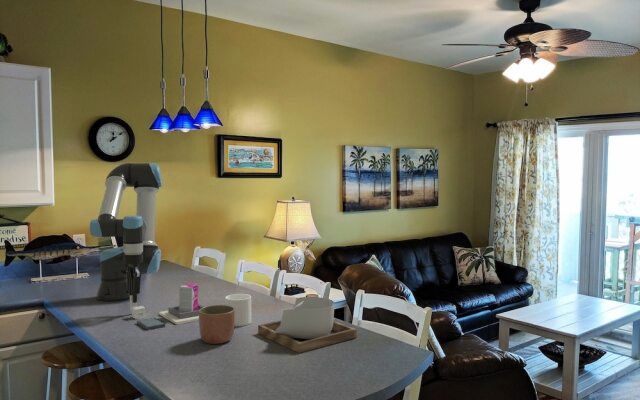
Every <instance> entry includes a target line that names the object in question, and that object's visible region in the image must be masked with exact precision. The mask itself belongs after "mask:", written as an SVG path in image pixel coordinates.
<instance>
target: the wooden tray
mask: <svg viewBox="0 0 640 400" xmlns="http://www.w3.org/2000/svg"><path fill="white" fill-rule="evenodd" d="M280 324H281V320H277V321H272V322H271V321H270V322H267V323H262V324H258V325H257V331H258V332H257V334H259V335H260V336H263V337H265V338H267V339H269V340H271V341H273V342H275V343H278V344H280V345H281V346H283V347H286V348H288V349H289V350H292V351H295V352H297V353H299V354H300V353H305V352H308V351H312V350H315V349H318V348H322V347H327V346H331V345H334V344H337V343H341V342H344V341H345V342H346V341H350V340H351V339H355V338H357V334H358V332H357V331H358V330H357V328H355V327H352V326H350V325H349V326H348V324H347V325H346V324H343V323H341V322H338V321H335V320H334V322H333V328H332V330H331V331H335V332H334V333H329V334H328V335H326V336H322V337H318V338H314V339H305V340H304V341H299V340H296V339H295V338H292V337H287V336H285V335H283V334H279V333H275V330H276V329H277V328H278V327H279V326H280Z"/></svg>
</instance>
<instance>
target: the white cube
mask: <svg viewBox="0 0 640 400" xmlns="http://www.w3.org/2000/svg"><path fill="white" fill-rule="evenodd" d="M146 311H147V309H146V307H144V306H143V305H138V307H133V308H132V311H131V318H133V319H134V318H135V319H134V320H140V319H144V318H145V317H146V314H147V313H146ZM145 319H146V318H145Z"/></svg>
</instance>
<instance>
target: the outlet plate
mask: <svg viewBox="0 0 640 400" xmlns="http://www.w3.org/2000/svg"><path fill="white" fill-rule="evenodd" d="M203 307H205V306H204V305H202V304H200V303H198V310H196V311H191V312H185V313H181V312H179V305H175V306H171V307H170V306H169V307H168V308H167V309H168V310H162V311H159V312H158V314H159V316H161V317H163V318H165V319H166V320H168V321H170V322H171V323H173V324H175V325H182V324H187V323H193V322H199V309H201V308H203Z"/></svg>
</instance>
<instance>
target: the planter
mask: <svg viewBox="0 0 640 400" xmlns="http://www.w3.org/2000/svg"><path fill="white" fill-rule="evenodd" d="M234 323H235V308H234V307H232V306H227V305H225V304H214V305H208V306H207V305H206V306H204V307H203V308H201V309H199V321H198V324H199V325H198V328H199V335H200V339H201V341H203V342H204V343H206V344H209V345H210V344H211V345H217V344H219V345H220V344H224V343H227V342H230V340H232V338H233V337H234V332H235V327H234Z"/></svg>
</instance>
